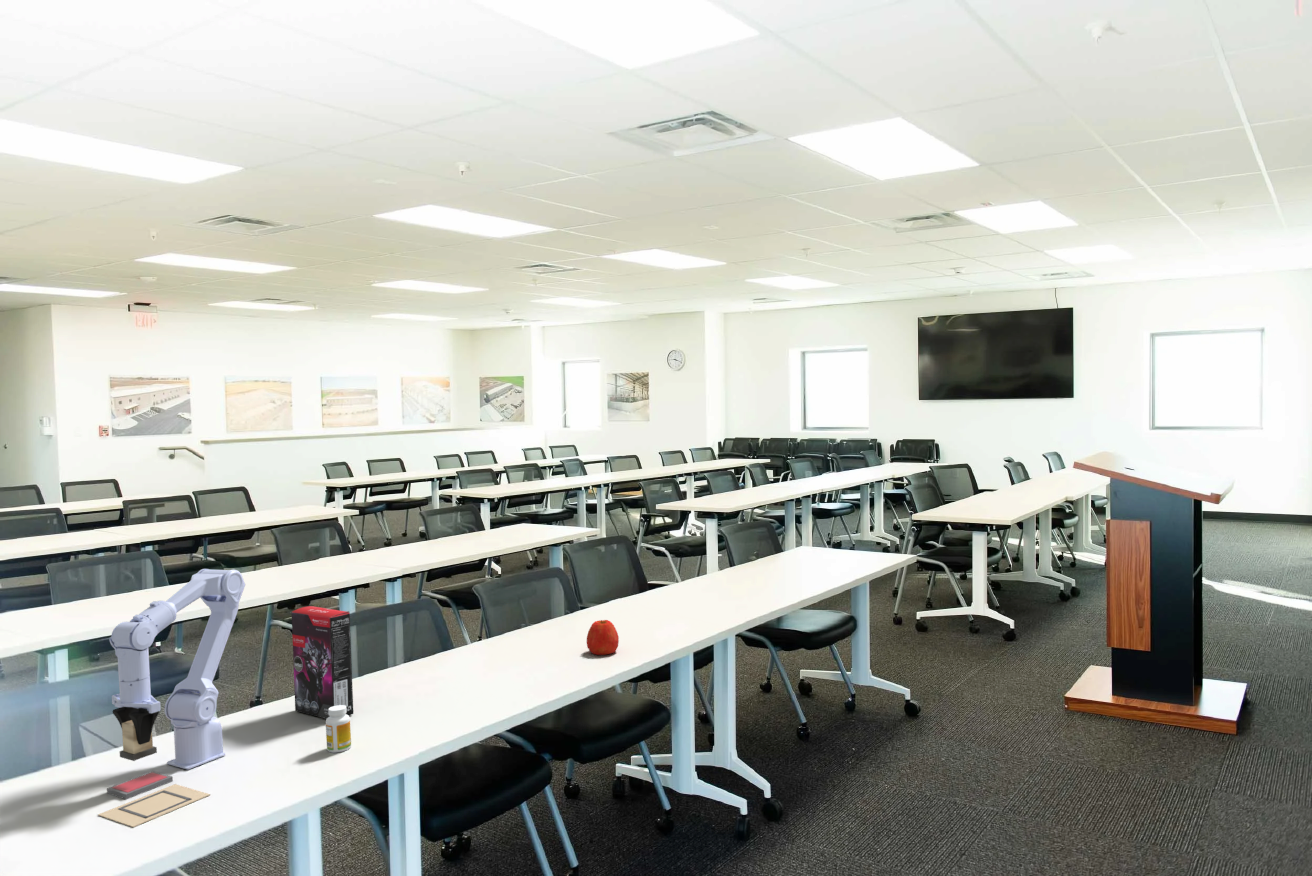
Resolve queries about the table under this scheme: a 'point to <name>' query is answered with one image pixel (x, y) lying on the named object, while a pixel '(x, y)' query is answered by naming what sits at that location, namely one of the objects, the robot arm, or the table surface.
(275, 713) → the table surface
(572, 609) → the table surface
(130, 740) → the stamp
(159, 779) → the ink pad
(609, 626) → the apple
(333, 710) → the supplement bottle
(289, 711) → the table surface
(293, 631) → the graphics card box
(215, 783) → the table surface
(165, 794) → the cardboard sheet
